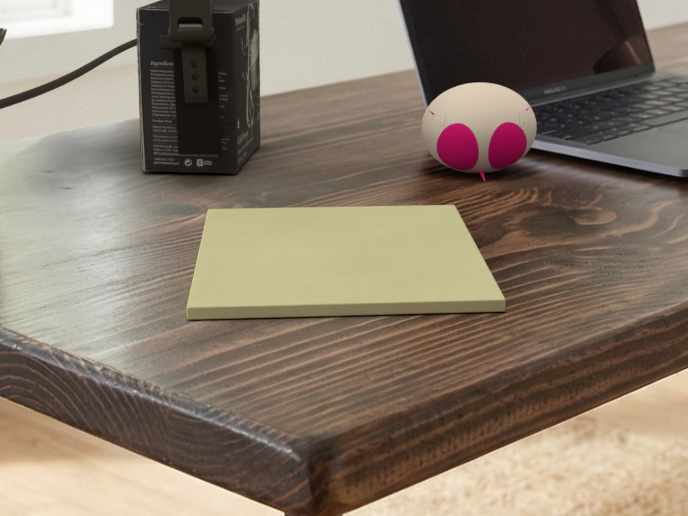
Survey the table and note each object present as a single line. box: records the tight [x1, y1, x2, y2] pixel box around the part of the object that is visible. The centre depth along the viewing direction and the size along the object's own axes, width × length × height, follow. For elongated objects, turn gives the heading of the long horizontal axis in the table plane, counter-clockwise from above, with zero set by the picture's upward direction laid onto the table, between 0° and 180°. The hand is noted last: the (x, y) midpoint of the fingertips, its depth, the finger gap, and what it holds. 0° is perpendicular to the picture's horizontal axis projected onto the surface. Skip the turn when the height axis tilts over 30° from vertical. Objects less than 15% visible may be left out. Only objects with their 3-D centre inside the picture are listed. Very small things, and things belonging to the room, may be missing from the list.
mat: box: [185, 204, 507, 321], centre depth 65 cm, size 18×14×1 cm
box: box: [135, 0, 261, 175], centre depth 87 cm, size 11×7×10 cm, turn 178°
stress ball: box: [420, 82, 538, 182], centre depth 85 cm, size 8×8×7 cm
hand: (205, 136), depth 88 cm, fingers closed on box, 11 cm apart
